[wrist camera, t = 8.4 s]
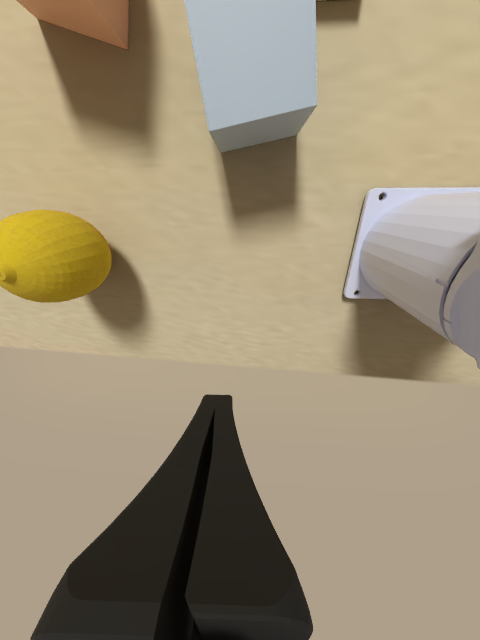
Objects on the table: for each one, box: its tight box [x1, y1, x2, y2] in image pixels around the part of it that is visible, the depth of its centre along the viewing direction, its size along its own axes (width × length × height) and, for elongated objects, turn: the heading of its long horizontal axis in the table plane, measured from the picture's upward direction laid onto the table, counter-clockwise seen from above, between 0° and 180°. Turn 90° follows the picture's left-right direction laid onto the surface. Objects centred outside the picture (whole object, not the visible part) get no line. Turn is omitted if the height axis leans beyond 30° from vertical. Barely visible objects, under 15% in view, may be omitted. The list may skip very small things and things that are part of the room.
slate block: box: [184, 0, 317, 153], centre depth 11 cm, size 5×5×5 cm
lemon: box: [0, 210, 112, 302], centre depth 14 cm, size 6×6×8 cm
